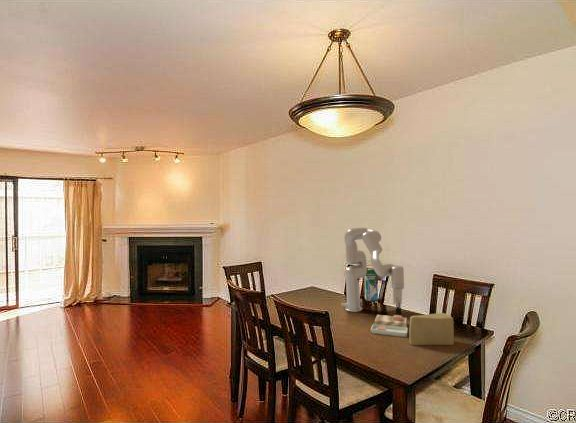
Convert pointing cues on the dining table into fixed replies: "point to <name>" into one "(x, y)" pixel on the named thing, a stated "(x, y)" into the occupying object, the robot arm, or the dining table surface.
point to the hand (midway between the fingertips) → (398, 314)
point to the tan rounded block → (431, 329)
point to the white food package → (390, 321)
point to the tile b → (397, 317)
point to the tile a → (381, 328)
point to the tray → (390, 330)
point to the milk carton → (371, 286)
